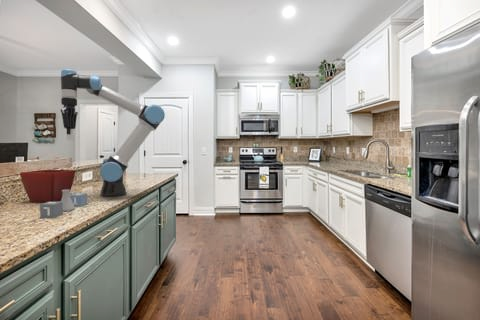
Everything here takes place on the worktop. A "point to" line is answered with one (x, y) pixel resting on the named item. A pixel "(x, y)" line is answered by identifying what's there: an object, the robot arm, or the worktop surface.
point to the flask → (67, 201)
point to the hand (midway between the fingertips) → (69, 140)
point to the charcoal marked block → (51, 209)
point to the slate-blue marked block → (79, 199)
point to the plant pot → (47, 184)
